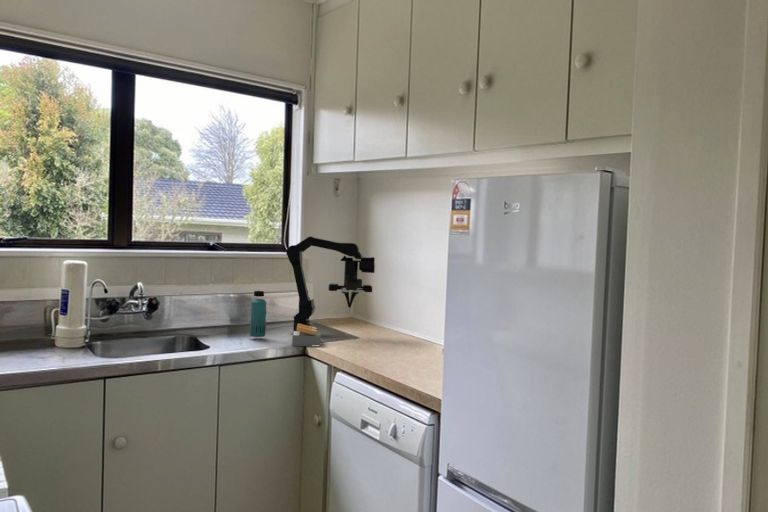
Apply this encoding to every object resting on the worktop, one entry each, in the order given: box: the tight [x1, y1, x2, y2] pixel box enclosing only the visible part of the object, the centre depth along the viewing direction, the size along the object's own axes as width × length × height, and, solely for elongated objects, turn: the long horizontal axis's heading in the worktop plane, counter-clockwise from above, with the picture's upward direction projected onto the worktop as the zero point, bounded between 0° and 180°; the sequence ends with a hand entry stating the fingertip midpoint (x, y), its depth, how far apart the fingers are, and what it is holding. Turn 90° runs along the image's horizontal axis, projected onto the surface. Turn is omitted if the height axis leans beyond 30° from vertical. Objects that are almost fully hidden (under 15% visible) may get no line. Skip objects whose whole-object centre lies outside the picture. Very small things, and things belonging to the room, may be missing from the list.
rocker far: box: [297, 323, 318, 331], centre depth 235 cm, size 8×4×2 cm, turn 98°
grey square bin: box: [291, 331, 322, 347], centre depth 233 cm, size 11×11×5 cm
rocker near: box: [296, 326, 318, 335], centre depth 230 cm, size 8×4×2 cm, turn 98°
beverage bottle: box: [249, 290, 267, 338], centre depth 236 cm, size 6×7×20 cm
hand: (349, 307), depth 251 cm, fingers closed
